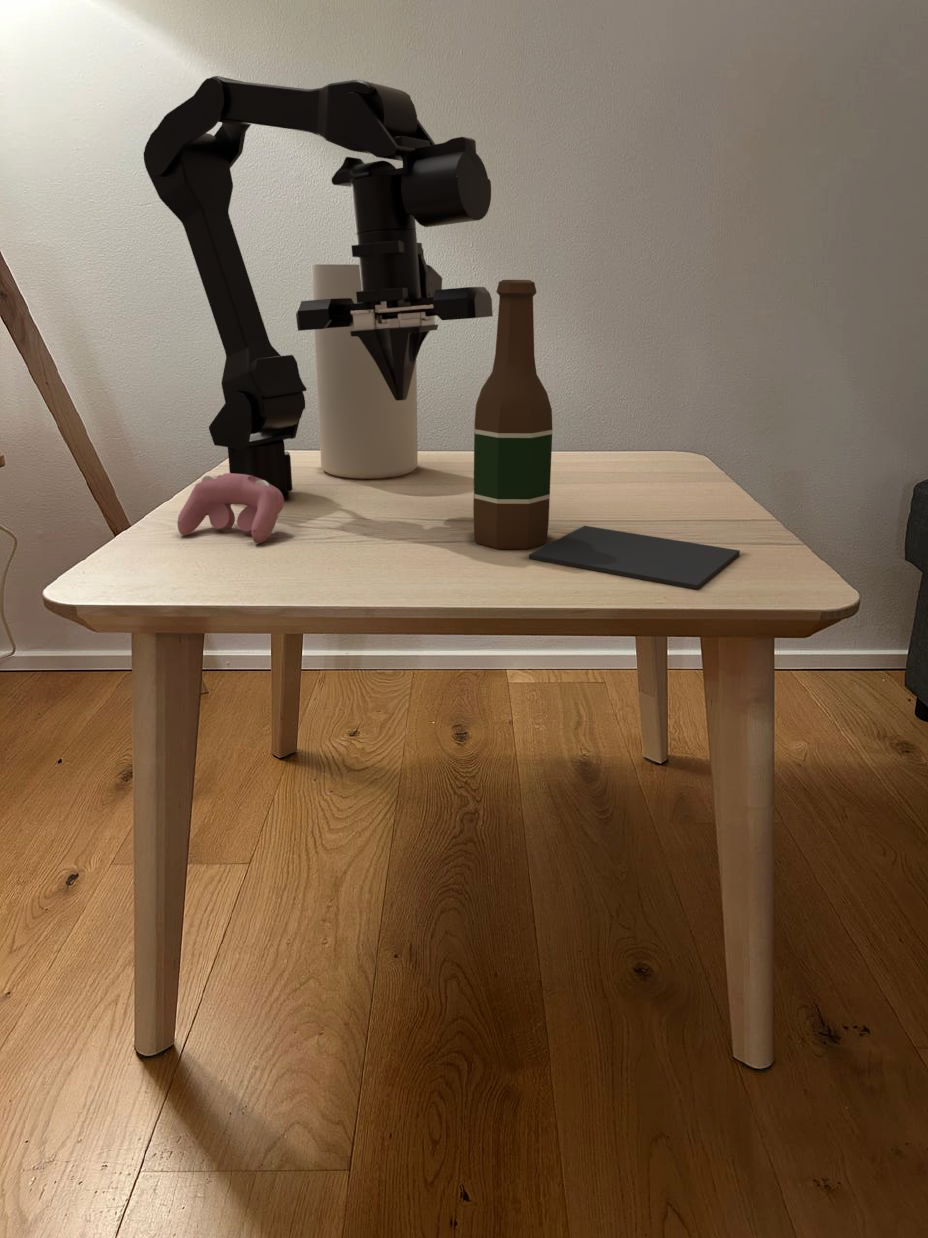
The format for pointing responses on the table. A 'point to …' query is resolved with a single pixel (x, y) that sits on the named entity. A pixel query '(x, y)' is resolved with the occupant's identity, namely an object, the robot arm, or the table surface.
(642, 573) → the mat
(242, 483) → the video game controller
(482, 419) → the beer bottle
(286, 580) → the table surface
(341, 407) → the cylinder vase
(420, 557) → the table surface
